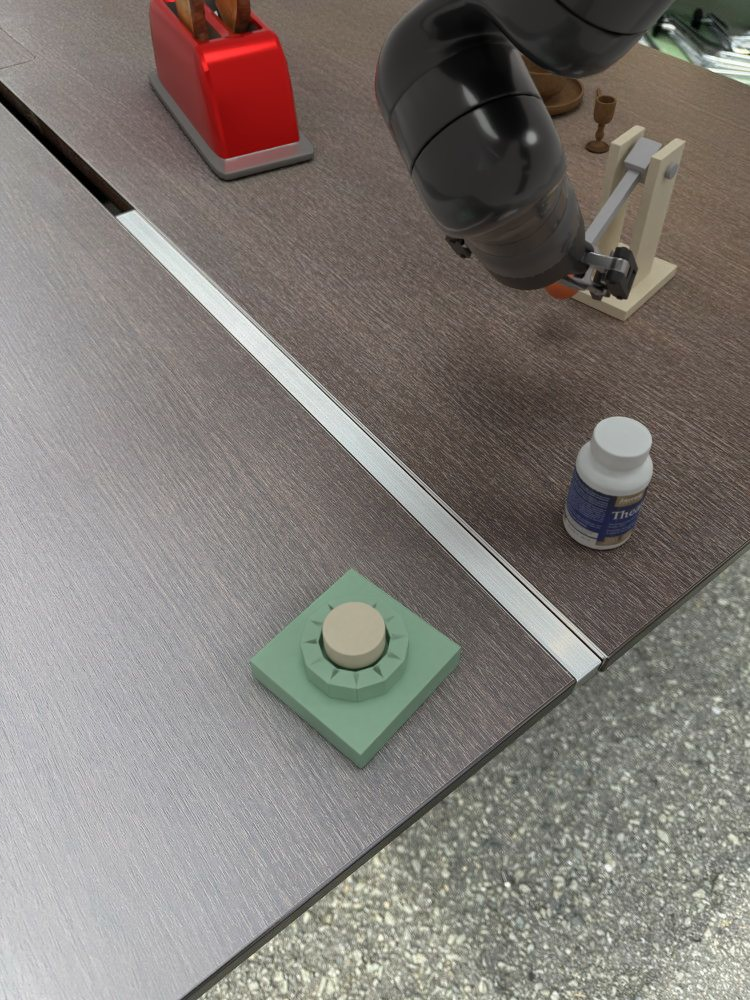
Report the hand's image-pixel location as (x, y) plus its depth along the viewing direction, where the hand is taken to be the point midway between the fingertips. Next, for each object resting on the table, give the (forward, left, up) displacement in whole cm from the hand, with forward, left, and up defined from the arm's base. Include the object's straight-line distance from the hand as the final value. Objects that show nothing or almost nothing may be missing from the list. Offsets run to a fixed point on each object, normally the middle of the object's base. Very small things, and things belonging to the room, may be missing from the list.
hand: (552, 275), depth 71 cm
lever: (+1, -10, -1) cm, 10 cm away
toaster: (+59, -14, -9) cm, 61 cm away
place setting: (+28, -41, -9) cm, 50 cm away
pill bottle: (-15, +13, -9) cm, 22 cm away
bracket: (+1, -15, -9) cm, 18 cm away
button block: (-9, +35, -9) cm, 37 cm away
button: (-9, +35, -5) cm, 37 cm away
